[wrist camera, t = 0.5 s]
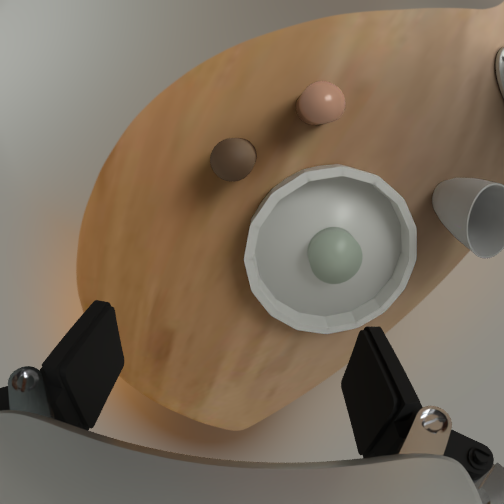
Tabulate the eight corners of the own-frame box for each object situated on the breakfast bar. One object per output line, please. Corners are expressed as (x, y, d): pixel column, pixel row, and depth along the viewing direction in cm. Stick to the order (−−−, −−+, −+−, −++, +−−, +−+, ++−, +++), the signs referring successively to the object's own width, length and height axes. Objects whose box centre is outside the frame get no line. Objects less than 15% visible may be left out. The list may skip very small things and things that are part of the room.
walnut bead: (242, 131, 30) (237, 129, 25) (263, 160, 31) (262, 165, 26) (213, 151, 31) (201, 154, 26) (233, 180, 32) (226, 189, 27)
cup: (452, 238, 33) (495, 268, 24) (412, 213, 33) (454, 241, 23) (476, 186, 30) (523, 205, 21) (437, 156, 30) (486, 168, 20)
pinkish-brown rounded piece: (318, 84, 28) (329, 73, 22) (338, 114, 29) (353, 109, 23) (288, 102, 29) (293, 94, 23) (309, 131, 30) (318, 130, 24)
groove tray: (359, 132, 29) (369, 132, 26) (423, 268, 35) (435, 279, 32) (214, 225, 34) (208, 235, 31) (300, 339, 40) (303, 356, 37)
